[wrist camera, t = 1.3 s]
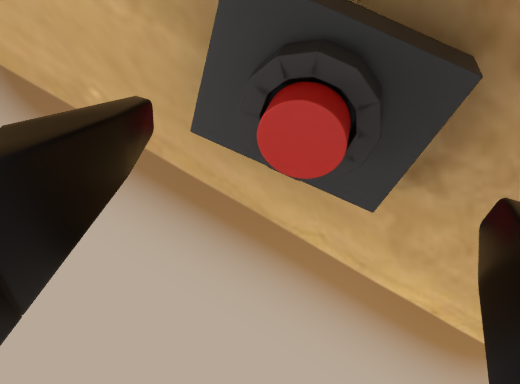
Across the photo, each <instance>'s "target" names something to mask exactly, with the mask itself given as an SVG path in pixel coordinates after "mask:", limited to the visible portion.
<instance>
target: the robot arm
mask: <svg viewBox="0 0 520 384" xmlns="http://www.w3.org/2000/svg"><path fill="white" fill-rule="evenodd" d="M153 129H154V124H153V109H152V103H151V101H150V100H148V99H145V98H141V97H138V96H133V97H129V98H124V99H120V100H115V101H111V102H106V103H102V104H97V105H93V106H88V107H84V108H80V109H75V110H71V111H67V112H62V113H57V114H53V115H48V116H44V117H39V118H36V119H30V120H26V121H21V122H17V123H13V124H8V125H4V126H2V127H1V128H0V345H1V344H2V343H3V341H4V340H5V339H6V337H7V336H8V335H9V334H10V332H11V331H12V330H13V328H14V327H15V326H16V324H17V323H18V322H19V320H20V319H21V317H22V316H21V315H23V314H24V313H25V312H26V311H27V309H28V308H29V307H30V305H31V304H32V303H33V301H34V300H35V299H36V297H37V296H38V295H39V294H40V292H41V291H42V289H43V288H44V287H45V286H46V284H47V283H48V282H49V280H50V279H51V278H52V276H53V275H54V274H55V272H56V271H57V270H58V268H59V267H60V266H61V264H62V263H63V262H64V260H65V259H66V258H67V256H68V255H69V254H70V252H71V251H72V250H73V249H74V247H75V246H76V245H77V243H78V242H79V241H80V239H81V238H82V237H83V235H84V234H85V233H86V231H87V230H88V229H89V227H90V226H91V225H92V223H93V222H94V221H95V219H96V218H97V217H98V215H99V214H100V213H101V212H102V210H103V209H104V208H105V206H106V204H108V202H109V201H110V200H111V198H112V197H113V196H114V194H115V193H116V192H117V190H118V189H119V188H120V186H121V185H122V184H123V182H124V181H125V180H126V178H127V177H128V175H129V174H130V172H131V170H132V169H133V167H134V165H135V164H136V162H137V160H138V158H139V157H140V155H141V153H142V151H143V150H144V148H145V146H146V145H147V143H148V141H149V139H150V138H151V136H152V133H153ZM478 285H479V296H480V305H481V314H482V323H483V332H484V341H485V350H486V359H487V368H488V378H489V384H520V202H519V201H516V200H512V199H508V198H503V199H500V200H499V201H498V202H497V203H496V204H495V206H494V207H493V208H492V209H491V211H490V212H489V213H488V214H487V216H486V217H485V218H484V219H483V221H482V223H481V225H480V229H479V262H478Z"/></svg>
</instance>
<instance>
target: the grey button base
mask: <svg viewBox="0 0 520 384" xmlns="http://www.w3.org/2000/svg"><path fill="white" fill-rule="evenodd" d="M482 77H483V76H482V74H481V72H480V69H479V67H478V65H477V63H476V61H475V59H474V57H473V56H471V55H469V54H466V53H464V52H462V51H460V50H457V49H455V48H453V47H451V46H448V45H446V44H444V43H442V42H440V41H437V40H435V39H433V38H431V37H428V36H426V35H424V34H422V33H419V32H417V31H415V30H413V29H411V28H408V27H406V26H404V25H402V24H399V23H397V22H395V21H393V20H390V19H388V18H386V17H384V16H381V15H379V14H377V13H375V12H373V11H370V10H368V9H366V8H364V7H361V6H359V5H357V4H355V3H352V2H350V1H348V0H219V4H218V8H217V13H216V17H215V22H214V26H213V31H212V35H211V40H210V44H209V49H208V54H207V58H206V63H205V67H204V72H203V76H202V81H201V85H200V90H199V94H198V99H197V103H196V108H195V112H194V117H193V121H192V126H191V132H193V133H195V134H197V135H199V136H202V137H204V138H206V139H208V140H211V141H213V142H215V143H217V144H220V145H222V146H224V147H226V148H229V149H231V150H233V151H235V152H238V153H240V154H242V155H244V156H247V157H249V158H251V159H253V160H256V161H258V162H260V163H262V164H265V165H266V166H268V167H269V168H271V169H273V170H275V171H278V170H276V169H275V168H274V167H272V166H271V165H270V164H269V163H268V162H267V161H266V159H265V158H264V157H263V155H262V153H261V151H260V149H259V146H258V141H257V129H258V125H259V122H260V120H261V118H262V116H263V114H264V113H265V111H266V109H267V107H268V106H269V104H270V102H271V100H272V99H273V97H274V96H275V95H276V94H277V93H278V92H279V91H280V90H281V89H283V88H284V87H286V86H288V85H290V84H293V83H297V82H316V83H320V84H323V85H325V86H327V87H329V88H331V89H332V90H334V91H335V92H336V93H338V94H339V95H340V96H341V98H342V99H343V100H344V102H345V103H346V105H347V107H348V109H349V112H350V117H351V126H350V132H349V138H348V143H347V149H346V153H345V156H344V158H343V160H342V161H341V163H340V164H339V165H338V166H337V167H336V168H335V169H334V170H332V171H331V172H329V173H328V174H326V175H323V176H321V177H317V178H311V179H300V178H295V177H291V176H289V177H291V178H293V179H296V180H299V181H303V182H305V183H307V184H310V185H312V186H314V187H316V188H318V189H321V190H323V191H325V192H327V193H330V194H332V195H334V196H336V197H339V198H341V199H343V200H345V201H348V202H350V203H352V204H354V205H357V206H359V207H361V208H363V209H366V210H368V211H370V212H374V211H375V210H376V209H377V207H378V206H379V205H380V204H381V202H382V201H383V200H384V199H385V197H386V196H387V195H388V194H389V192H390V191H391V190H392V189H393V188H394V186H395V185H396V184H397V183H398V181H399V180H400V179H401V178H402V176H403V175H404V174H405V173H406V171H407V170H408V169H409V168H410V166H411V165H412V164H413V163H414V162H415V160H416V159H417V158H418V157H419V155H420V154H421V153H422V152H423V150H424V149H425V148H426V147H427V145H428V144H429V143H430V142H431V141H432V139H433V138H434V137H435V136H436V134H437V133H438V132H439V131H440V129H441V128H442V127H443V126H444V124H445V123H446V122H447V121H448V119H449V118H450V117H451V116H452V115H453V113H454V112H455V111H456V110H457V108H458V107H459V106H460V105H461V103H462V102H463V101H464V100H465V98H466V97H467V96H468V95H469V94H470V92H471V91H472V90H473V89H474V87H475V86H476V85H477V84H478V82H479V81H480V80H481V79H482ZM278 172H279V171H278ZM280 173H281V172H280ZM282 174H283V173H282ZM284 175H285V174H284ZM287 176H288V175H287Z"/></svg>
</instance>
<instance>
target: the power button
mask: <svg viewBox="0 0 520 384" xmlns="http://www.w3.org/2000/svg"><path fill="white" fill-rule="evenodd" d="M350 126H351V117H350V112H349V109H348V107H347V105H346V103H345V102H344V100H343V99H342V98H341V96H340V95H339V94H338V93H336V92H335V91H334V90H332V89H331V88H329V87H327V86H325V85H323V84H320V83H316V82H297V83H293V84H290V85H288V86H286V87H284V88H283V89H281V90H280V91H279V92H278V93H277V94H276V95H275V96H274V97H273V99H272V100H271V102H270V104H269V106H268V107H267V109H266V111H265V113H264V114H263V116H262V118H261V120H260V122H259V125H258V129H257V141H258V146H259V149H260V151H261V153H262V155H263V157H264V158H265V159H266V161H267V162H268V163H269V164H270V165H271V166H272V167H274V168H275V169H276V170H278V171H279V172H281V173H283V174H285V175H288V176H291V177H295V178H300V179H311V178H317V177H321V176H323V175H326V174H328V173H329V172H331V171H332V170H334V169H335V168H336V167H337V166H338V165H339V164H340V163H341V161H342V160H343V158H344V156H345V153H346V149H347V143H348V138H349V132H350Z"/></svg>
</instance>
